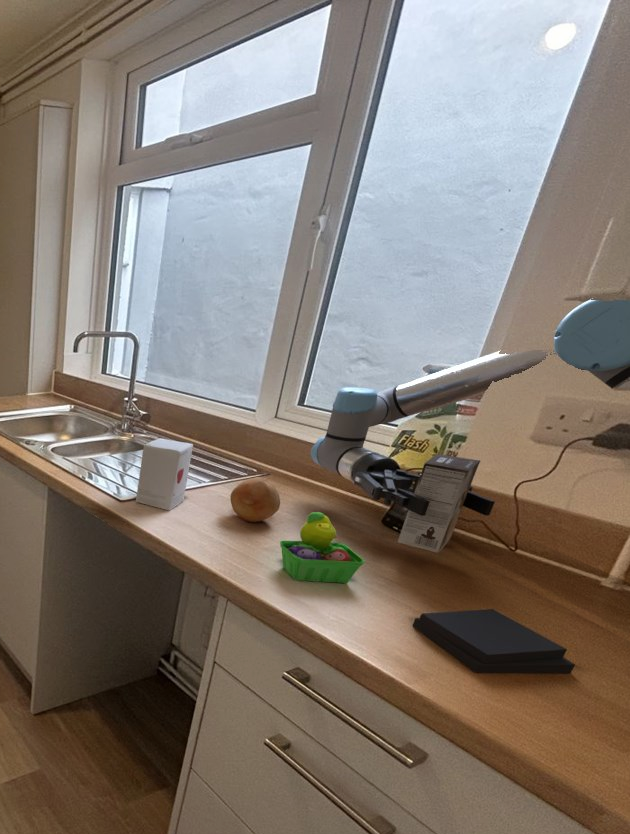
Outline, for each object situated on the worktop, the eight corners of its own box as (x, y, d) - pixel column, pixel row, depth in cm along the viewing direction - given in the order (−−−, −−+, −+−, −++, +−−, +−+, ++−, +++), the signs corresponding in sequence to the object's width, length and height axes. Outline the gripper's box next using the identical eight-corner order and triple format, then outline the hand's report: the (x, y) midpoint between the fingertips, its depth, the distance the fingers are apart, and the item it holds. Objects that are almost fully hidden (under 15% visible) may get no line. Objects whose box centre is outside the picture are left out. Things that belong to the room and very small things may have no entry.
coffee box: (408, 529, 105) (436, 452, 99) (450, 539, 101) (481, 460, 95) (396, 542, 100) (424, 462, 94) (439, 554, 96) (471, 470, 89)
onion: (224, 509, 127) (232, 469, 123) (270, 514, 124) (280, 474, 120) (229, 524, 118) (237, 483, 115) (279, 530, 115) (289, 488, 111)
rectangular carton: (170, 511, 126) (179, 451, 120) (134, 502, 131) (142, 444, 126) (184, 501, 132) (194, 443, 126) (150, 492, 137) (158, 437, 132)
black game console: (494, 624, 83) (501, 608, 81) (570, 673, 72) (580, 655, 71) (408, 624, 83) (414, 608, 82) (472, 673, 72) (480, 655, 71)
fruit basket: (290, 583, 95) (305, 526, 90) (270, 560, 103) (283, 507, 98) (359, 587, 93) (378, 530, 89) (333, 564, 101) (349, 510, 97)
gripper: (417, 485, 115) (515, 527, 95) (311, 486, 116) (385, 527, 95) (429, 452, 112) (532, 488, 92) (319, 453, 113) (398, 489, 92)
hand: (457, 508), depth 93 cm, fingers closed on coffee box, 11 cm apart
